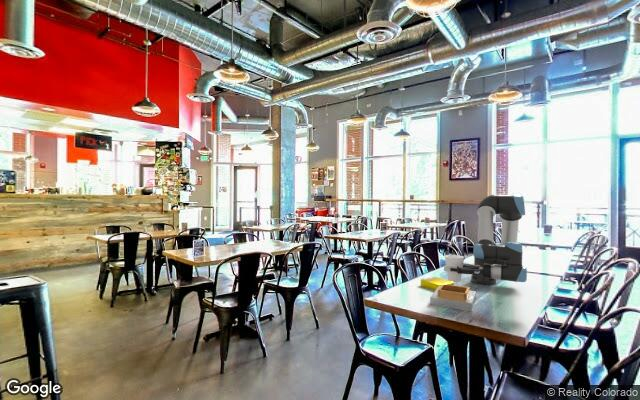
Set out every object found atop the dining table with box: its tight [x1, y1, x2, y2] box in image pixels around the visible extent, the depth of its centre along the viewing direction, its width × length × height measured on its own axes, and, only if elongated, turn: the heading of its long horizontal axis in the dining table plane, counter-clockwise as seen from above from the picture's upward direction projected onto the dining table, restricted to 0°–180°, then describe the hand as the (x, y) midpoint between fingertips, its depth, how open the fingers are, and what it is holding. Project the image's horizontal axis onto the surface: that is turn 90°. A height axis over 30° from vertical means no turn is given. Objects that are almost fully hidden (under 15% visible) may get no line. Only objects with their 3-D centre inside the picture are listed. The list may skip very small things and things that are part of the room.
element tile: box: [420, 276, 455, 292], centre depth 214 cm, size 15×15×5 cm
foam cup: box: [444, 254, 465, 283], centre depth 185 cm, size 10×9×13 cm
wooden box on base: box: [429, 284, 477, 312], centre depth 185 cm, size 24×20×7 cm
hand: (445, 266), depth 187 cm, fingers closed on foam cup, 9 cm apart
